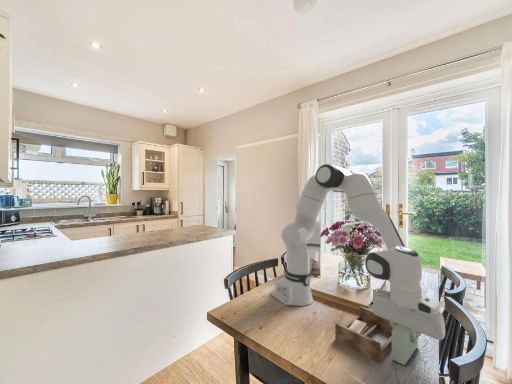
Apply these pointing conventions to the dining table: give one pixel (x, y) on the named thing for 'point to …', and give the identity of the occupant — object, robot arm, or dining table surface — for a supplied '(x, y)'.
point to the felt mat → (412, 357)
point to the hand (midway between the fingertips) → (405, 338)
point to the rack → (366, 335)
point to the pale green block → (402, 344)
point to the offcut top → (358, 326)
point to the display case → (314, 250)
